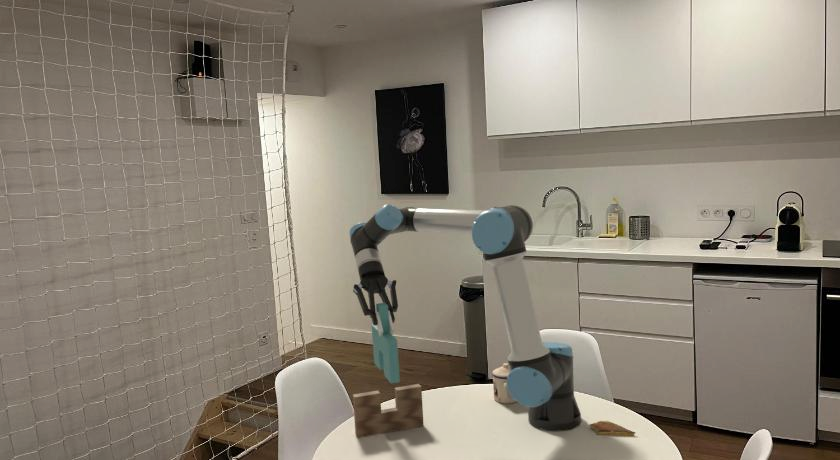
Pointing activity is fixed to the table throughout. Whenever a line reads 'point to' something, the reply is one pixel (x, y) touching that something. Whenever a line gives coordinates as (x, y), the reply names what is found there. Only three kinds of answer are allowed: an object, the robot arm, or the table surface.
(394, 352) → the teal slotted plate
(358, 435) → the walnut slotted plate
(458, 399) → the table surface
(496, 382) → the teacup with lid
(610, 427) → the pie slice
